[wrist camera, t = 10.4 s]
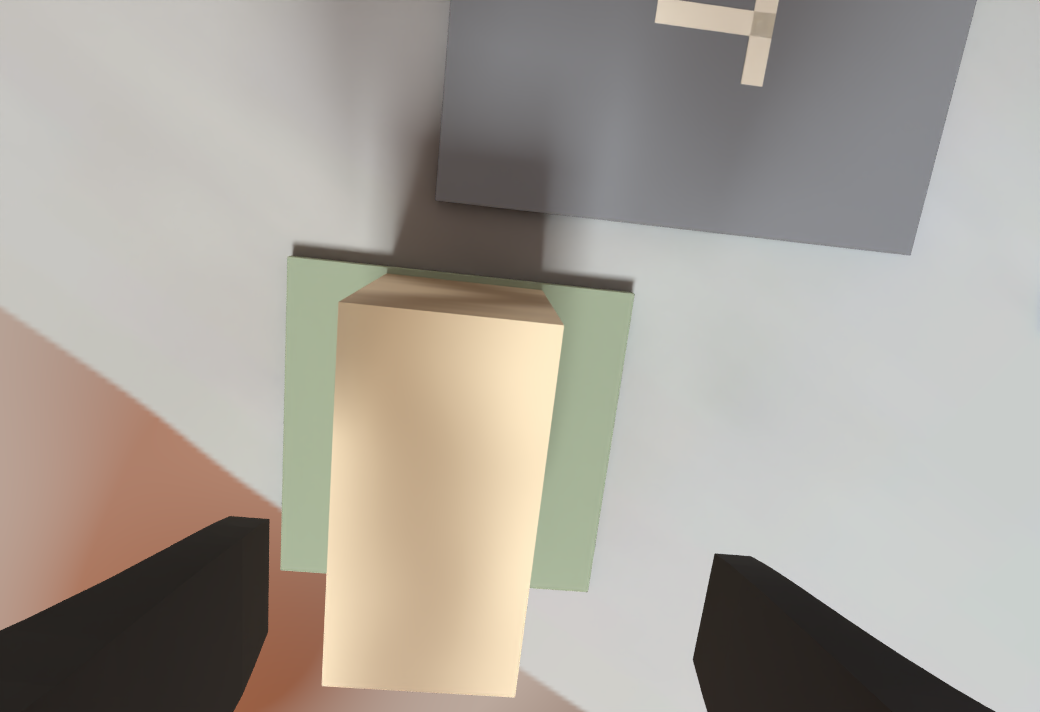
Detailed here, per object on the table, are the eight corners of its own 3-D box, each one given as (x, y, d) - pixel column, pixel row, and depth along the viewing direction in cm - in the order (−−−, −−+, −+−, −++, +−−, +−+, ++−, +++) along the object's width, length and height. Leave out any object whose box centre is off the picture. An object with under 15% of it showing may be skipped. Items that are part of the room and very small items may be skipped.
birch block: (542, 290, 17) (564, 325, 12) (508, 563, 19) (514, 697, 14) (386, 273, 17) (338, 301, 12) (369, 553, 19) (321, 685, 14)
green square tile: (631, 292, 18) (634, 294, 18) (585, 584, 20) (587, 592, 20) (292, 255, 17) (287, 256, 17) (284, 563, 20) (280, 570, 19)
